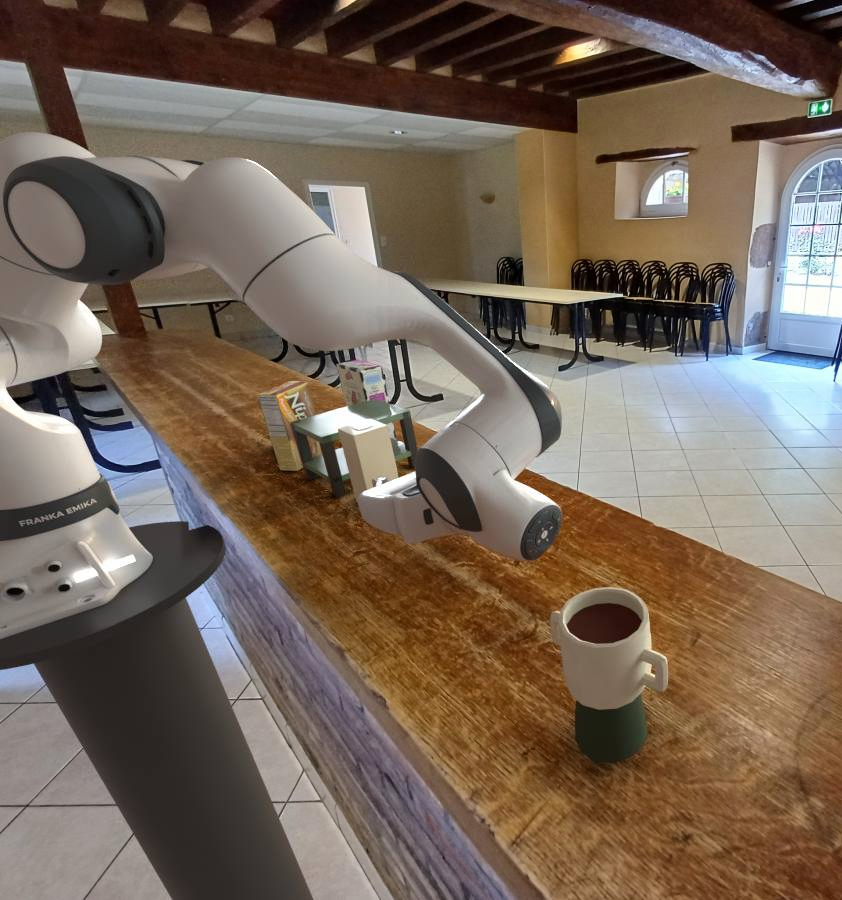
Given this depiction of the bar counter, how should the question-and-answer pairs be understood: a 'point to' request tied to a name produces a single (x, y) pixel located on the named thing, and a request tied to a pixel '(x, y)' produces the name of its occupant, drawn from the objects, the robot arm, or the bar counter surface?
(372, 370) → the candy bar box
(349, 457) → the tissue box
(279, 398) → the candy box
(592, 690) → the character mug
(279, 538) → the bar counter surface
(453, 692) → the bar counter surface
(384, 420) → the rack
